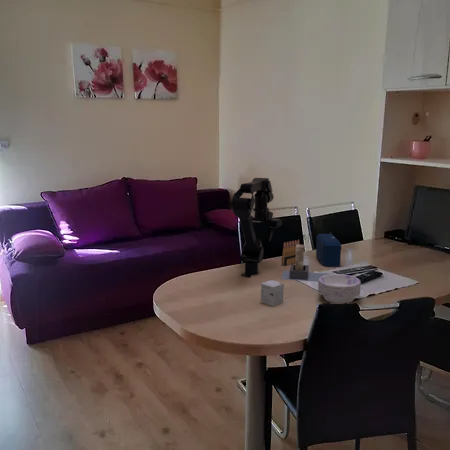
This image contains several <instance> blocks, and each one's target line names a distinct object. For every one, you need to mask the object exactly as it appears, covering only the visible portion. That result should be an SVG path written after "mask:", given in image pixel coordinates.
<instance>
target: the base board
mask: <svg viewBox="0 0 450 450" xmlns="http://www.w3.org/2000/svg"><path fill="white" fill-rule="evenodd" d="M329 274H330V273H326V272H311V271H309V274H308V280H302V279H290V270H283V272H282V275H281V277H280V280H287V281H288V280H289V281H302V282H303V281H304V282H315V283H316V282H317V283H318V280H319V278H320V277H321V276H324V275H329Z"/></svg>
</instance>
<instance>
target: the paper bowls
mask: <svg viewBox="0 0 450 450" xmlns="http://www.w3.org/2000/svg"><path fill="white" fill-rule="evenodd" d="M328 274H329V275H324V276H321V277H320V278H319V280H318V282H317V285H318V287H317V290H318V293H319V294H320V295H322V296H323V298H324V300H326V301H327V302H328V303H331V304H336V303H346V304H349V303H352V302H353V301H354V299H355V298H357V297H359V296H360V295H361V289H362V287H361V285H362V283H361V280H360V279H359V278H357V277H356V276H353V275H349V274H340V273H328Z"/></svg>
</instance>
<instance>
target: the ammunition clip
mask: <svg viewBox="0 0 450 450" xmlns="http://www.w3.org/2000/svg"><path fill="white" fill-rule="evenodd" d="M297 244H299V245H301V244H300V239H298V240H296V239H295V240H292V241H291V240H290V241H287V242H286V241H284V242H283V247H282V248H283V249H282V256H281V266H283V267H285V266H286V267H287V266H291V265H292V264H294V265H295V262H296V246H297Z"/></svg>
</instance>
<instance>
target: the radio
mask: <svg viewBox="0 0 450 450" xmlns="http://www.w3.org/2000/svg"><path fill="white" fill-rule="evenodd" d="M315 245H316V248H315V252H316V253H315V256H316V258H317V259H318V260H319V262H320V264H321V265H322V266H323V267H327V268H328V267H331V268H332V267H335V268H337V267H338V268H339V267H340V266H341V256H342V255H341V254H342V244H341V242H340V241H339V239H337V238H336V236H334V234H332V233H318V235H316V244H315Z"/></svg>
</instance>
